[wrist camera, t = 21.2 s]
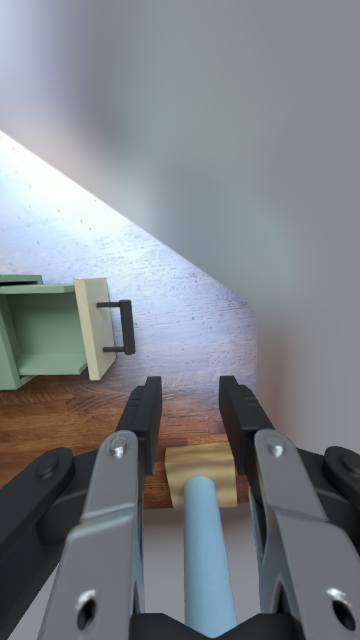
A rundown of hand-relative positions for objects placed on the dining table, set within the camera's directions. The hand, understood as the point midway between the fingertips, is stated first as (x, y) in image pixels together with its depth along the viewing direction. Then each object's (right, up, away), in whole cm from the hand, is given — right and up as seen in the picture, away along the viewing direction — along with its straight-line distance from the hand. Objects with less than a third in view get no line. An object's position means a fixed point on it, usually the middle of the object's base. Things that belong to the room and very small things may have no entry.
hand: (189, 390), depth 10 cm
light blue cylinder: (+3, -26, +21) cm, 34 cm away
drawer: (-16, +4, +16) cm, 23 cm away
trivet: (+3, -25, +24) cm, 35 cm away
